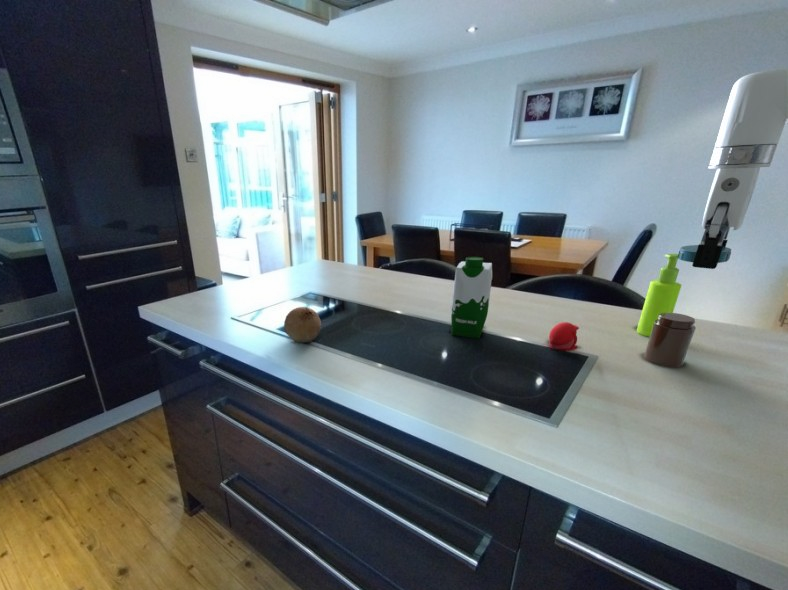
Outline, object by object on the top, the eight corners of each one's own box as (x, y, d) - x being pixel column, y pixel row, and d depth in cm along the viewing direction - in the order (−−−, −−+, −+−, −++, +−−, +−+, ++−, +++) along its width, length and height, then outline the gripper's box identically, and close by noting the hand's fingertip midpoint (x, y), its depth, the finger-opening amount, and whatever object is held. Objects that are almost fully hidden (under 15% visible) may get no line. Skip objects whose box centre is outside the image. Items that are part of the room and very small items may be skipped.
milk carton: (447, 336, 101) (454, 259, 93) (453, 324, 109) (460, 252, 101) (483, 340, 97) (492, 261, 90) (486, 328, 105) (496, 254, 97)
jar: (671, 358, 86) (686, 312, 82) (688, 371, 80) (706, 323, 76) (637, 355, 87) (650, 311, 83) (651, 369, 81) (666, 321, 77)
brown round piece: (314, 354, 100) (322, 326, 93) (278, 346, 99) (284, 318, 92) (319, 329, 107) (326, 302, 100) (285, 321, 106) (290, 293, 99)
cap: (571, 356, 88) (577, 332, 85) (543, 350, 91) (547, 326, 89) (580, 345, 93) (585, 322, 91) (553, 339, 97) (557, 316, 95)
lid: (684, 253, 77) (687, 243, 76) (733, 257, 71) (736, 246, 71) (672, 260, 73) (675, 250, 72) (722, 265, 68) (725, 254, 67)
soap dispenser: (675, 338, 95) (702, 256, 88) (644, 337, 96) (668, 256, 89) (661, 329, 101) (685, 252, 93) (631, 328, 102) (653, 252, 94)
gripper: (771, 156, 57) (730, 275, 64) (774, 157, 68) (738, 259, 75) (704, 159, 62) (672, 269, 69) (716, 160, 73) (687, 254, 80)
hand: (706, 263), depth 72 cm, fingers closed on lid, 7 cm apart
